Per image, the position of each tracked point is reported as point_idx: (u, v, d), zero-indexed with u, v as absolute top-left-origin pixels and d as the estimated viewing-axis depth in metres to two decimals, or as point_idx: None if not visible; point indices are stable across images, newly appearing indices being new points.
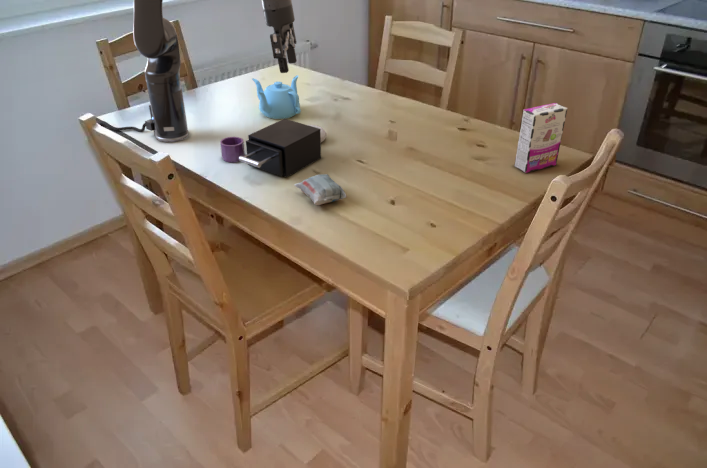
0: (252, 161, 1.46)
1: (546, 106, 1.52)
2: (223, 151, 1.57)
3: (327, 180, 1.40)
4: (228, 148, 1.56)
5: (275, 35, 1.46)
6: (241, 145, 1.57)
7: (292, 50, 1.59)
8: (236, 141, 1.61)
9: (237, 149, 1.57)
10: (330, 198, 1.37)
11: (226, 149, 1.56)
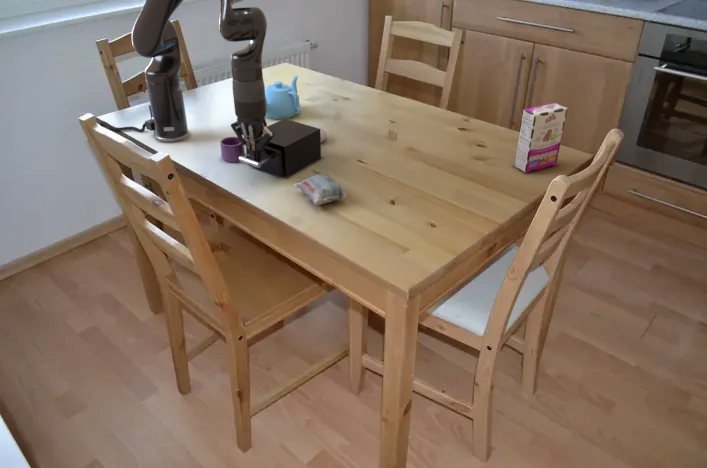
0: (252, 161, 1.46)
1: (546, 106, 1.52)
2: (223, 151, 1.57)
3: (327, 180, 1.40)
4: (228, 148, 1.56)
5: None
6: (241, 145, 1.57)
7: None
8: (236, 141, 1.61)
9: (237, 149, 1.57)
10: (330, 198, 1.37)
11: (226, 149, 1.56)
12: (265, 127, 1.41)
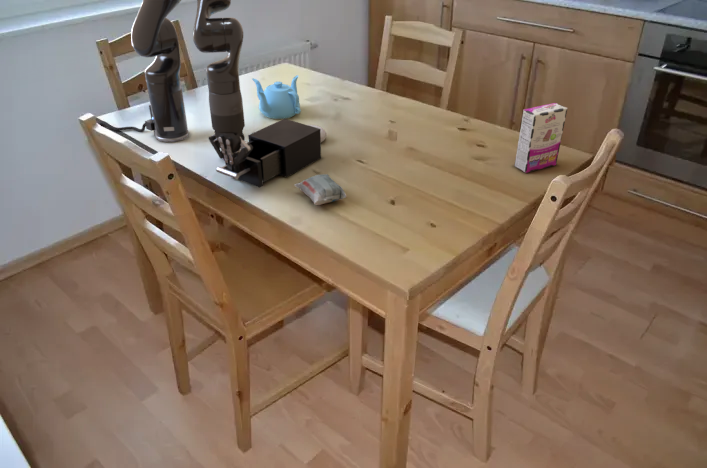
0: (230, 172, 1.41)
1: (546, 106, 1.52)
2: None
3: (327, 180, 1.40)
4: None
5: None
6: None
7: None
8: None
9: None
10: (330, 198, 1.37)
11: None
12: (243, 141, 1.36)
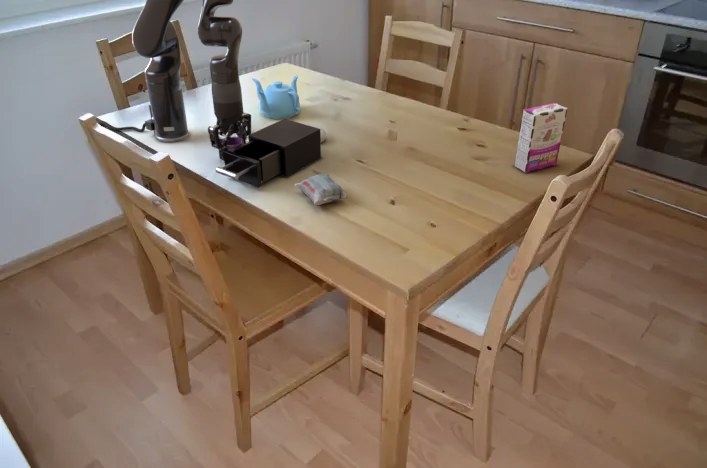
0: (229, 173, 1.40)
1: (546, 106, 1.52)
2: None
3: (327, 180, 1.40)
4: (228, 148, 1.56)
5: None
6: None
7: None
8: (236, 141, 1.61)
9: None
10: (330, 198, 1.37)
11: None
12: None
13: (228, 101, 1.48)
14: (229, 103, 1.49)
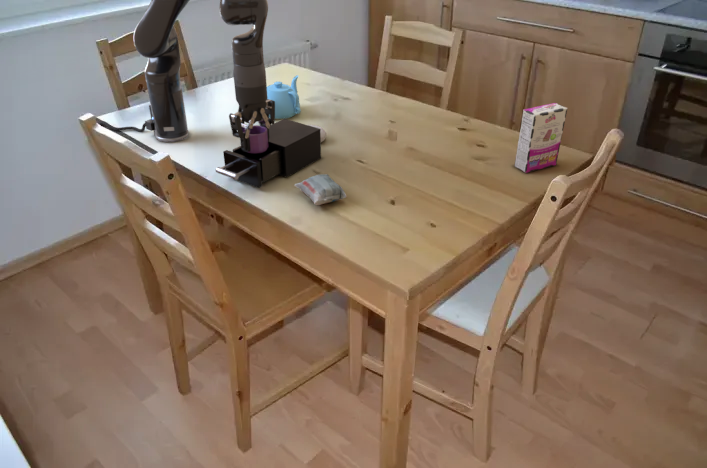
0: (229, 173, 1.40)
1: (546, 106, 1.52)
2: None
3: (327, 180, 1.40)
4: (250, 138, 1.42)
5: None
6: (265, 134, 1.44)
7: None
8: (259, 130, 1.47)
9: (260, 139, 1.43)
10: (330, 198, 1.37)
11: None
12: None
13: (252, 85, 1.35)
14: (253, 87, 1.35)
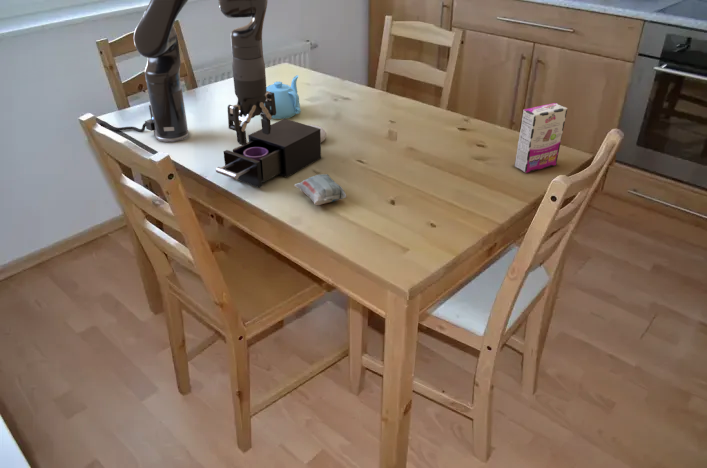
0: (229, 173, 1.40)
1: (546, 106, 1.52)
2: None
3: (327, 180, 1.40)
4: None
5: None
6: None
7: None
8: (260, 152, 1.50)
9: None
10: (330, 198, 1.37)
11: None
12: (239, 108, 1.38)
13: (251, 79, 1.34)
14: (252, 81, 1.34)
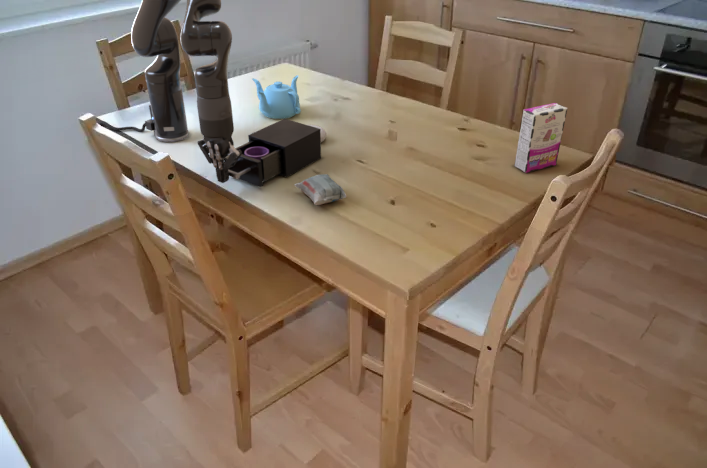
0: (230, 172, 1.41)
1: (546, 106, 1.52)
2: None
3: (327, 180, 1.40)
4: None
5: None
6: None
7: None
8: (261, 151, 1.51)
9: None
10: (330, 198, 1.37)
11: None
12: (232, 146, 1.34)
13: None
14: None
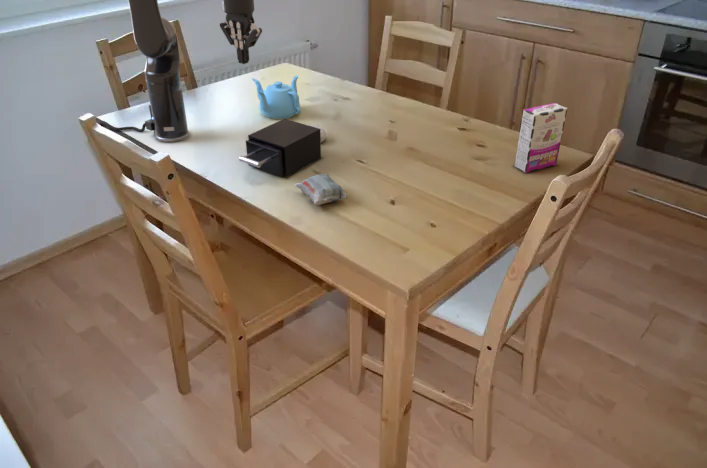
0: (252, 161, 1.46)
1: (546, 106, 1.52)
2: None
3: (327, 180, 1.40)
4: None
5: None
6: None
7: None
8: None
9: None
10: (330, 198, 1.37)
11: None
12: (253, 24, 1.43)
13: None
14: None
